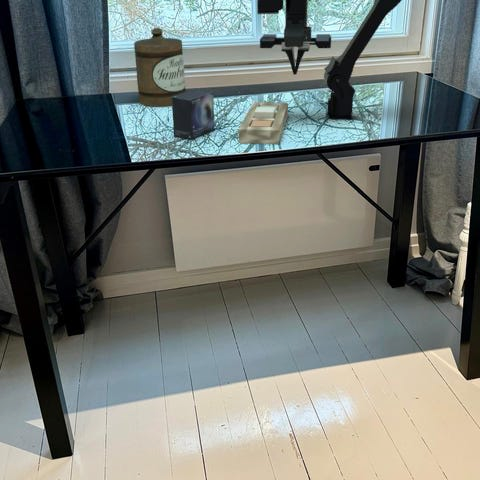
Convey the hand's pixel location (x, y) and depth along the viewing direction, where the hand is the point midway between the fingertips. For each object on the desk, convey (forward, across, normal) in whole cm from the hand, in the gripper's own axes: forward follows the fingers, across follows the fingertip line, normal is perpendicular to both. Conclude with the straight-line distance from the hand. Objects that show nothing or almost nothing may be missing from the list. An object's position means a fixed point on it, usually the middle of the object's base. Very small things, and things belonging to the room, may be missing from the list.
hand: (295, 74), depth 154 cm
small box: (+12, -25, -17) cm, 33 cm away
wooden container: (+12, -43, +15) cm, 47 cm away
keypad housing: (+12, -7, -11) cm, 18 cm away
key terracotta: (+11, -7, -18) cm, 23 cm away
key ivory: (+10, -7, -11) cm, 16 cm away
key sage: (+11, -7, -3) cm, 13 cm away
